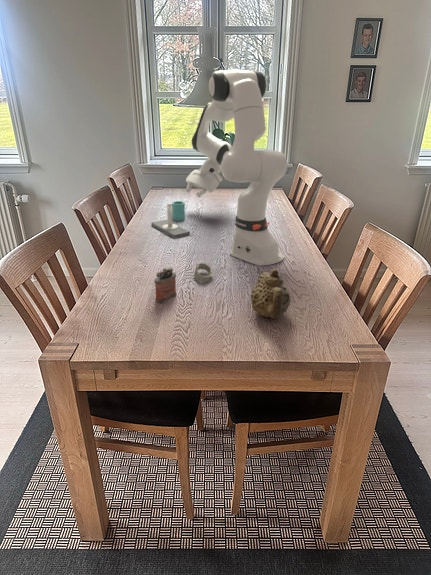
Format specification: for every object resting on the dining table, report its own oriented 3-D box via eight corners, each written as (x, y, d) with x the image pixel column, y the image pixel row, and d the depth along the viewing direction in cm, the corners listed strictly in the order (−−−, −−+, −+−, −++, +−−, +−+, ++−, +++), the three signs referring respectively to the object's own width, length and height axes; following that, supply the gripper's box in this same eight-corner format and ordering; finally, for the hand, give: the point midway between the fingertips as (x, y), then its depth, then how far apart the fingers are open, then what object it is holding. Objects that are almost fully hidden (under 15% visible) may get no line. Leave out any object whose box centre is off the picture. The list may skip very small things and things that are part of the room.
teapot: (245, 298, 131) (248, 254, 124) (280, 298, 132) (286, 254, 125) (255, 336, 112) (260, 286, 105) (297, 335, 113) (304, 286, 106)
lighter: (171, 292, 133) (170, 263, 129) (178, 295, 131) (178, 266, 127) (152, 301, 128) (151, 271, 123) (160, 304, 126) (159, 275, 121)
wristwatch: (195, 271, 148) (195, 259, 146) (212, 272, 148) (213, 259, 146) (193, 283, 140) (193, 269, 137) (211, 283, 140) (212, 270, 137)
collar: (186, 219, 200) (186, 203, 197) (176, 221, 197) (176, 205, 194) (180, 216, 204) (180, 200, 201) (170, 218, 201) (170, 202, 198)
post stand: (189, 235, 181) (189, 207, 175) (174, 238, 177) (173, 209, 171) (166, 222, 195) (165, 196, 189) (151, 225, 191) (150, 198, 185)
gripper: (193, 163, 206) (176, 185, 205) (217, 171, 192) (200, 194, 191) (200, 172, 210) (184, 193, 210) (224, 180, 196) (207, 203, 195)
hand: (192, 194), depth 200 cm, fingers open, 8 cm apart
